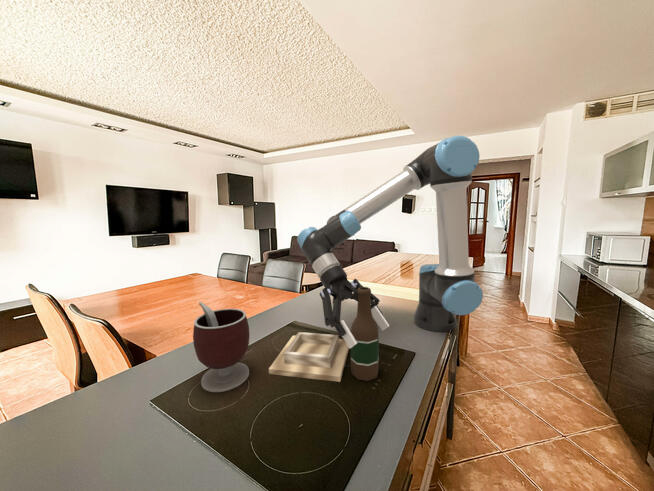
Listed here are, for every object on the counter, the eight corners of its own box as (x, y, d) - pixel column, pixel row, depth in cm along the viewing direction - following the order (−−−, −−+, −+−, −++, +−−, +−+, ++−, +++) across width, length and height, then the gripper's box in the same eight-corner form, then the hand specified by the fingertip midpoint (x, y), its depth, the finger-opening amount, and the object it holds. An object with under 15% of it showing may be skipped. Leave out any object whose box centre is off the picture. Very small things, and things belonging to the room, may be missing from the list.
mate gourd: (262, 370, 76) (258, 302, 73) (221, 401, 64) (214, 321, 61) (226, 356, 83) (220, 294, 81) (183, 381, 72) (175, 310, 69)
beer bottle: (360, 361, 79) (359, 282, 75) (384, 371, 74) (384, 287, 70) (345, 374, 73) (343, 289, 69) (370, 385, 68) (369, 294, 65)
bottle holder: (350, 343, 89) (349, 331, 88) (340, 381, 70) (339, 365, 69) (293, 339, 93) (292, 327, 93) (269, 373, 74) (268, 358, 73)
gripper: (351, 271, 90) (389, 328, 81) (290, 288, 73) (329, 361, 64) (363, 258, 85) (405, 316, 76) (301, 272, 68) (345, 348, 59)
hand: (370, 336), depth 70 cm, fingers open, 13 cm apart
